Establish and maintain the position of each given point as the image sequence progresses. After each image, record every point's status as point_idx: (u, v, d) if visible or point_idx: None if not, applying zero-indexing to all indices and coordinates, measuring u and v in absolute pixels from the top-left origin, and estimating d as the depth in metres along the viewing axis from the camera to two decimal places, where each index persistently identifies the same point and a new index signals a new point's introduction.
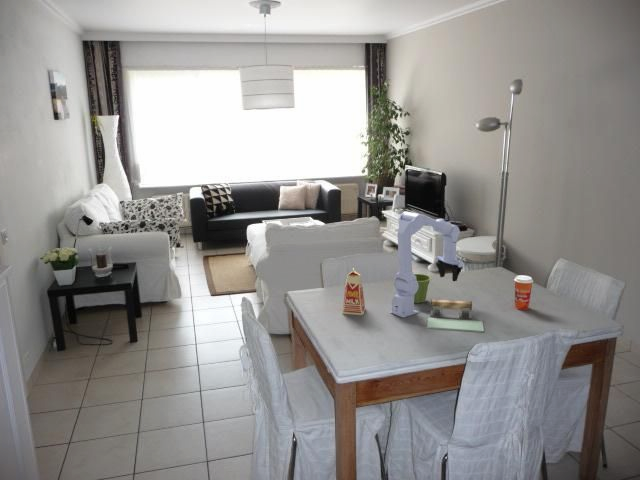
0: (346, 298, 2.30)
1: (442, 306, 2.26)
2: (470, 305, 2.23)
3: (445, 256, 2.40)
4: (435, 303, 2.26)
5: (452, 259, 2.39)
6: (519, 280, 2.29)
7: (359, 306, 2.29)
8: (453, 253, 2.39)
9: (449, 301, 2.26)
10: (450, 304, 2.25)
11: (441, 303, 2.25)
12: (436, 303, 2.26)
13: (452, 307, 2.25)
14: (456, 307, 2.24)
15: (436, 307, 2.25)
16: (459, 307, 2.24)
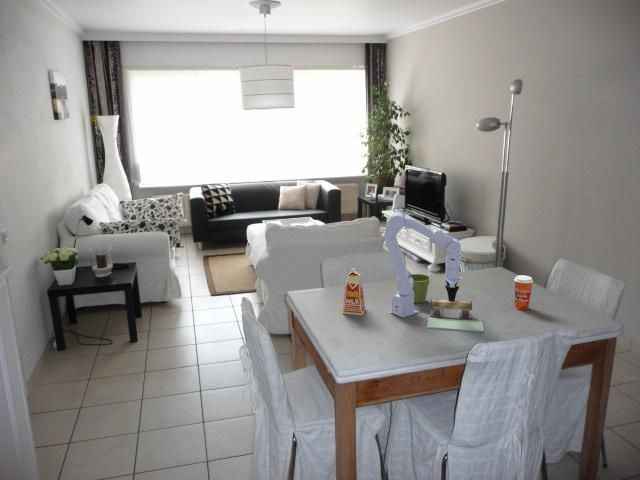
0: (346, 298, 2.30)
1: (442, 306, 2.26)
2: (470, 305, 2.23)
3: (445, 273, 2.23)
4: (435, 303, 2.26)
5: (450, 277, 2.21)
6: (519, 280, 2.29)
7: (359, 306, 2.29)
8: (451, 271, 2.20)
9: None
10: (450, 304, 2.25)
11: (441, 303, 2.25)
12: (436, 303, 2.26)
13: (452, 307, 2.25)
14: (456, 307, 2.24)
15: (436, 307, 2.25)
16: (459, 307, 2.24)
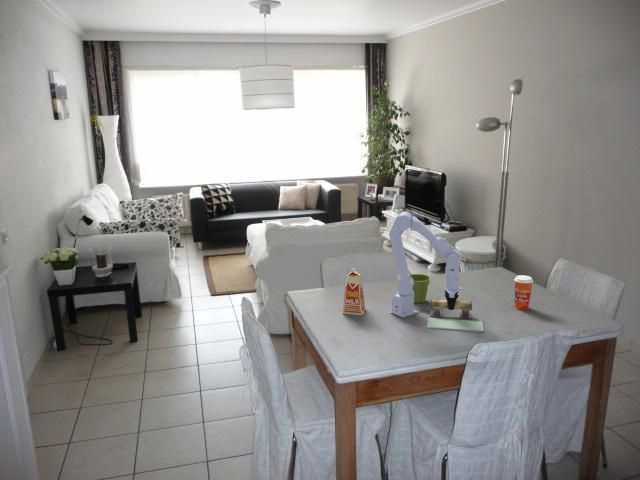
0: (346, 298, 2.30)
1: (442, 306, 2.26)
2: (470, 305, 2.23)
3: (445, 283, 2.24)
4: (435, 303, 2.26)
5: (449, 287, 2.22)
6: (519, 280, 2.29)
7: (359, 306, 2.29)
8: (451, 281, 2.21)
9: None
10: None
11: (441, 303, 2.25)
12: (436, 303, 2.26)
13: None
14: (456, 307, 2.24)
15: (436, 307, 2.25)
16: (459, 307, 2.24)
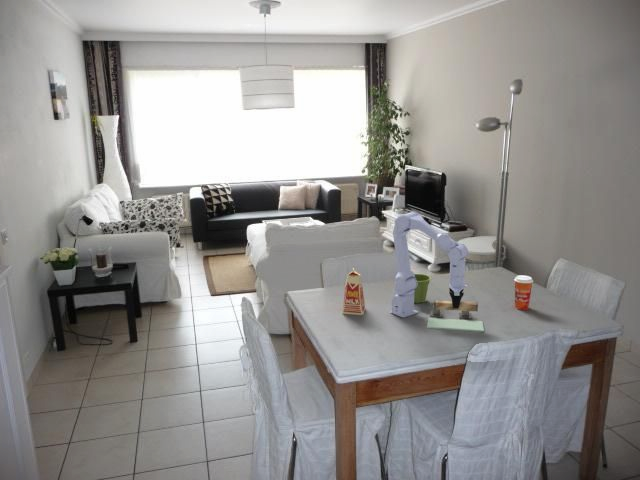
0: (346, 298, 2.30)
1: (446, 307, 2.14)
2: (476, 306, 2.12)
3: None
4: (439, 304, 2.15)
5: (454, 285, 2.10)
6: (519, 280, 2.29)
7: (359, 306, 2.29)
8: (455, 278, 2.09)
9: None
10: None
11: (445, 304, 2.14)
12: (440, 304, 2.15)
13: None
14: (461, 308, 2.13)
15: None
16: (464, 308, 2.13)
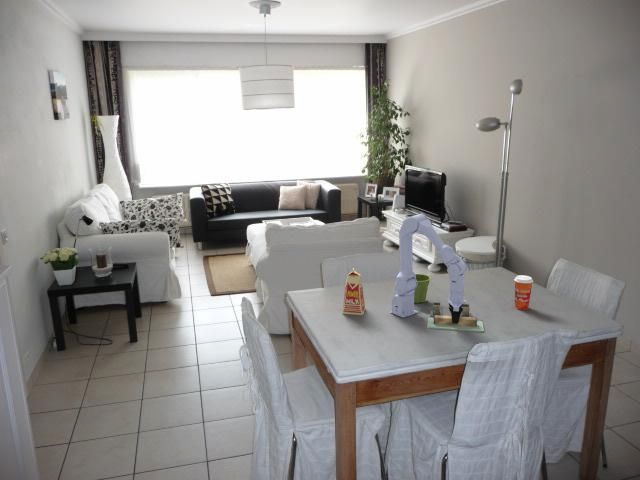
0: (346, 298, 2.30)
1: (446, 322, 2.16)
2: (475, 321, 2.13)
3: (449, 295, 2.14)
4: (438, 319, 2.16)
5: (454, 300, 2.12)
6: (519, 280, 2.29)
7: (359, 306, 2.29)
8: (455, 294, 2.11)
9: None
10: None
11: (444, 319, 2.16)
12: (439, 319, 2.16)
13: None
14: (460, 323, 2.15)
15: (436, 307, 2.25)
16: (463, 323, 2.14)
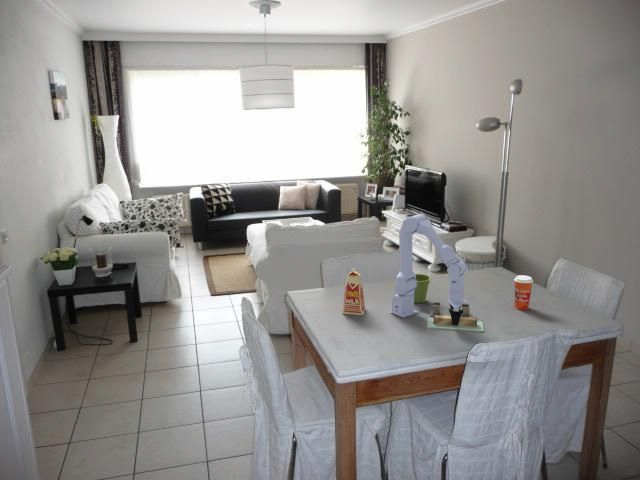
0: (346, 298, 2.30)
1: (446, 322, 2.16)
2: (475, 321, 2.13)
3: (449, 295, 2.14)
4: (438, 319, 2.16)
5: (454, 300, 2.12)
6: (519, 280, 2.29)
7: (359, 306, 2.29)
8: (455, 294, 2.11)
9: None
10: None
11: (444, 319, 2.16)
12: (439, 319, 2.16)
13: None
14: (460, 323, 2.15)
15: (436, 307, 2.25)
16: (463, 323, 2.14)
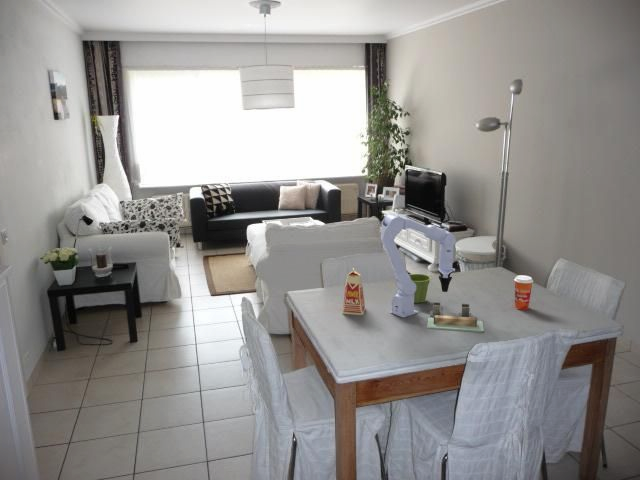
0: (346, 298, 2.30)
1: (446, 322, 2.16)
2: (475, 321, 2.13)
3: (439, 264, 2.30)
4: (438, 319, 2.16)
5: (443, 268, 2.28)
6: (519, 280, 2.29)
7: (359, 306, 2.29)
8: (444, 262, 2.27)
9: (453, 317, 2.16)
10: (454, 320, 2.15)
11: (444, 319, 2.16)
12: (439, 319, 2.16)
13: (456, 323, 2.15)
14: (460, 323, 2.15)
15: (436, 307, 2.25)
16: (463, 323, 2.14)
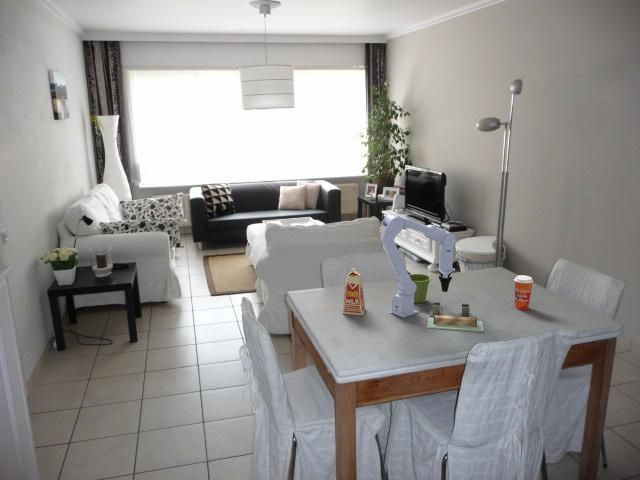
0: (346, 298, 2.30)
1: (446, 322, 2.16)
2: (475, 321, 2.13)
3: (439, 264, 2.30)
4: (438, 319, 2.16)
5: (443, 268, 2.28)
6: (519, 280, 2.29)
7: (359, 306, 2.29)
8: (444, 262, 2.27)
9: (453, 317, 2.16)
10: (454, 320, 2.15)
11: (444, 319, 2.16)
12: (439, 319, 2.16)
13: (456, 323, 2.15)
14: (460, 323, 2.15)
15: (436, 307, 2.25)
16: (463, 323, 2.14)
